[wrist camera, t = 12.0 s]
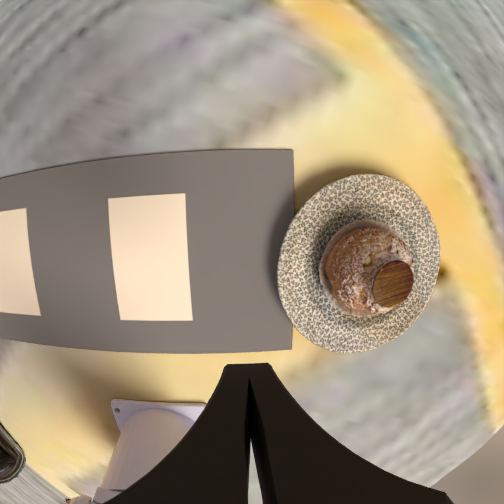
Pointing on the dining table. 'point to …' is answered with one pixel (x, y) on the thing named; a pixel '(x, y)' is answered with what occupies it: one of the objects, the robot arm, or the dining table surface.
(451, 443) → the dining table surface
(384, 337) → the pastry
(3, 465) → the chocolate cake
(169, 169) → the label panel
